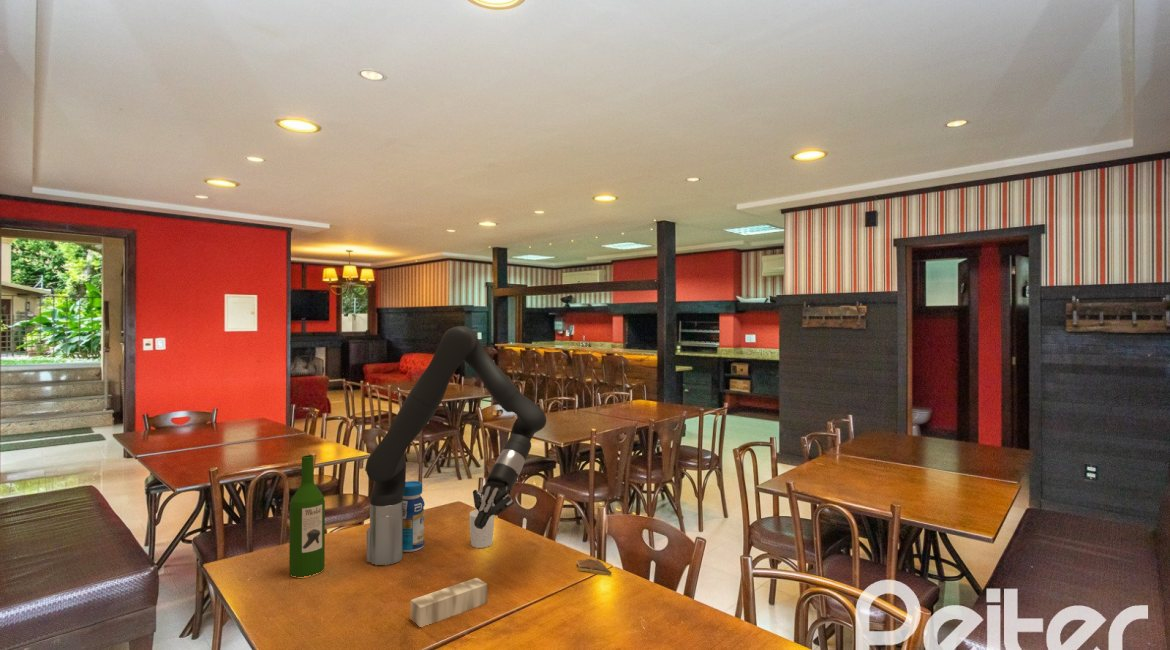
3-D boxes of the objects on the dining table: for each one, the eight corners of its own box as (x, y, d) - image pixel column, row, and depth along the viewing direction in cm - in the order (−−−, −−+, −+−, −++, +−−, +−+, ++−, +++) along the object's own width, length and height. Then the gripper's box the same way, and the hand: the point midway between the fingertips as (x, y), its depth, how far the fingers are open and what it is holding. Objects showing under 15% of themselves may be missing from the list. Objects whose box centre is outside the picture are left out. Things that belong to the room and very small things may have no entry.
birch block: (476, 597, 148) (410, 621, 136) (476, 577, 148) (410, 599, 136) (487, 604, 144) (420, 629, 132) (487, 584, 144) (420, 607, 132)
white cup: (497, 540, 186) (497, 509, 186) (490, 549, 178) (490, 517, 178) (473, 539, 187) (473, 508, 187) (465, 548, 179) (466, 516, 179)
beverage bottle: (395, 544, 181) (395, 481, 181) (422, 540, 185) (422, 478, 185) (398, 554, 174) (398, 488, 174) (427, 550, 177) (427, 485, 177)
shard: (612, 577, 159) (612, 571, 160) (586, 582, 157) (586, 575, 157) (597, 563, 170) (597, 556, 170) (572, 567, 167) (572, 560, 167)
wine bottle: (299, 581, 155) (299, 461, 155) (283, 572, 161) (283, 456, 161) (330, 570, 162) (331, 455, 162) (314, 562, 168) (315, 451, 168)
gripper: (481, 459, 160) (451, 515, 150) (520, 465, 154) (492, 524, 143) (493, 473, 165) (464, 529, 154) (531, 480, 159) (504, 539, 148)
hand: (478, 527), depth 149 cm, fingers closed
